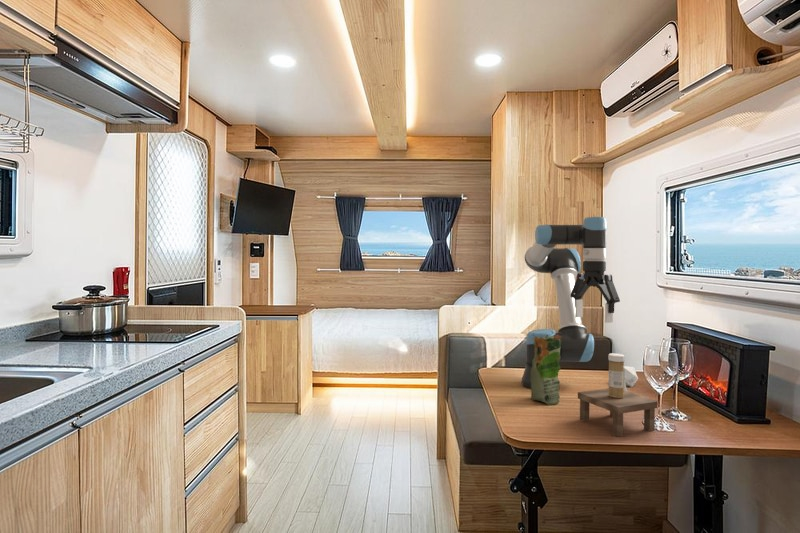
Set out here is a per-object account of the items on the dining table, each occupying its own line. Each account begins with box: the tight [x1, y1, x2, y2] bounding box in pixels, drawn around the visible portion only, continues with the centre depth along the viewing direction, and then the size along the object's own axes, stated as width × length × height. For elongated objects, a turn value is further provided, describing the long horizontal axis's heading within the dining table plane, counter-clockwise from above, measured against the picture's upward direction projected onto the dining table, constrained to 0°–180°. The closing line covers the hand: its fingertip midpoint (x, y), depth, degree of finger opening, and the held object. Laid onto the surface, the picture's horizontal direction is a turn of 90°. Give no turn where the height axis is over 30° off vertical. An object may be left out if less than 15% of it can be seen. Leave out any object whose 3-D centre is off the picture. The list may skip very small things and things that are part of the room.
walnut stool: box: [577, 387, 658, 438], centre depth 137 cm, size 16×16×9 cm
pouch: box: [530, 335, 562, 406], centre depth 161 cm, size 11×12×25 cm
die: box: [624, 365, 639, 388], centre depth 183 cm, size 8×9×10 cm
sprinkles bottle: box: [607, 352, 625, 398], centre depth 137 cm, size 5×5×14 cm
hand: (593, 319), depth 155 cm, fingers open, 13 cm apart
